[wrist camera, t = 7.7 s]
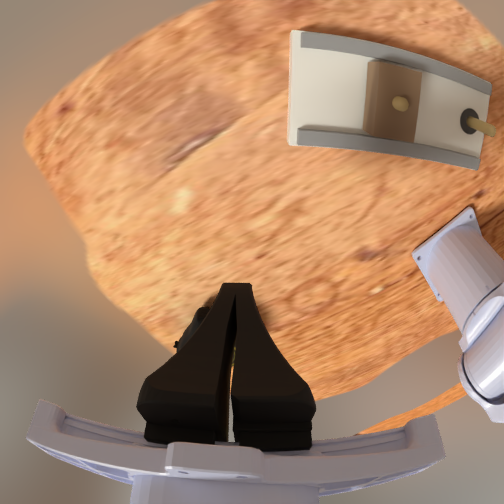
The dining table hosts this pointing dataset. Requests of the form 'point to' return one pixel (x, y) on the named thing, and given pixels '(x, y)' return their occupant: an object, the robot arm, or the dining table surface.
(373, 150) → the plate
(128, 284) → the dining table surface
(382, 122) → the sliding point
